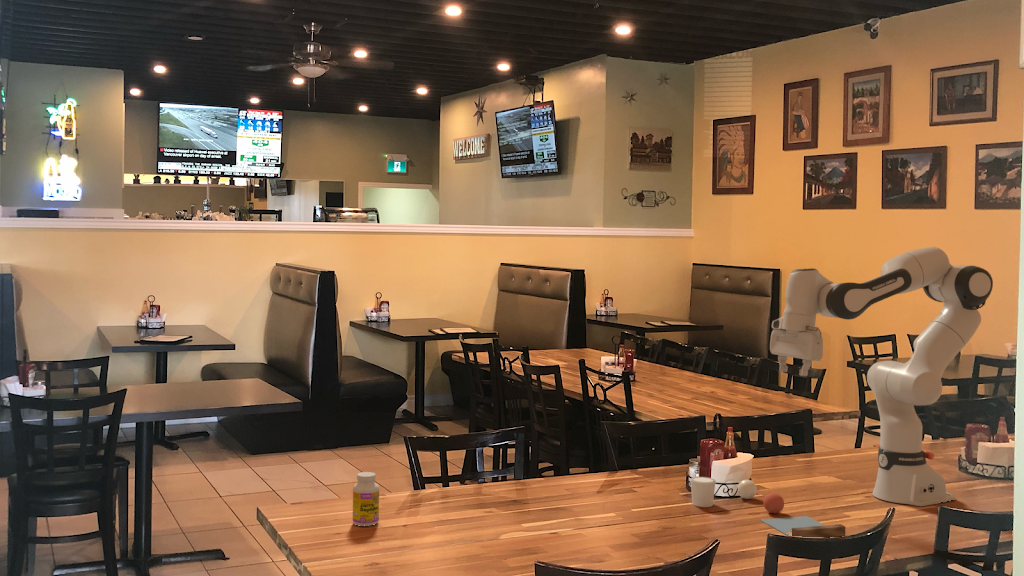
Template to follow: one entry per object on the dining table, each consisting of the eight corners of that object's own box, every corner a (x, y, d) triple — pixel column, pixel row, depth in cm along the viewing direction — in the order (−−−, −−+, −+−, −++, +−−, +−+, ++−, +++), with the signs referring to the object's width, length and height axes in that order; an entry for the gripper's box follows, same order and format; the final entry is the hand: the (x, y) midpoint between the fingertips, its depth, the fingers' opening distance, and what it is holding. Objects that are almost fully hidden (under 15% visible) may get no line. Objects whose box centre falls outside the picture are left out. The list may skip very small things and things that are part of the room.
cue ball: (750, 495, 263) (750, 477, 263) (760, 500, 258) (760, 481, 258) (733, 496, 262) (734, 478, 262) (743, 501, 257) (743, 483, 256)
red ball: (776, 509, 250) (777, 490, 250) (787, 515, 245) (788, 495, 244) (759, 510, 248) (759, 491, 248) (770, 516, 243) (770, 496, 243)
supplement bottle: (357, 529, 229) (357, 478, 228) (349, 521, 235) (349, 472, 234) (382, 525, 232) (382, 475, 231) (374, 518, 238) (374, 469, 237)
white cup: (715, 508, 250) (715, 483, 250) (689, 506, 251) (690, 481, 251) (714, 501, 257) (715, 477, 256) (690, 499, 258) (690, 475, 258)
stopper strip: (840, 533, 230) (840, 524, 230) (845, 536, 228) (845, 526, 228) (791, 538, 226) (791, 528, 226) (795, 540, 224) (796, 530, 224)
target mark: (806, 516, 244) (806, 515, 244) (838, 533, 230) (838, 532, 230) (760, 520, 240) (760, 519, 240) (790, 537, 226) (790, 536, 226)
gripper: (831, 328, 247) (825, 379, 247) (787, 323, 267) (781, 370, 267) (811, 326, 245) (806, 377, 245) (768, 321, 265) (763, 369, 265)
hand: (793, 373), depth 256 cm, fingers open, 8 cm apart
